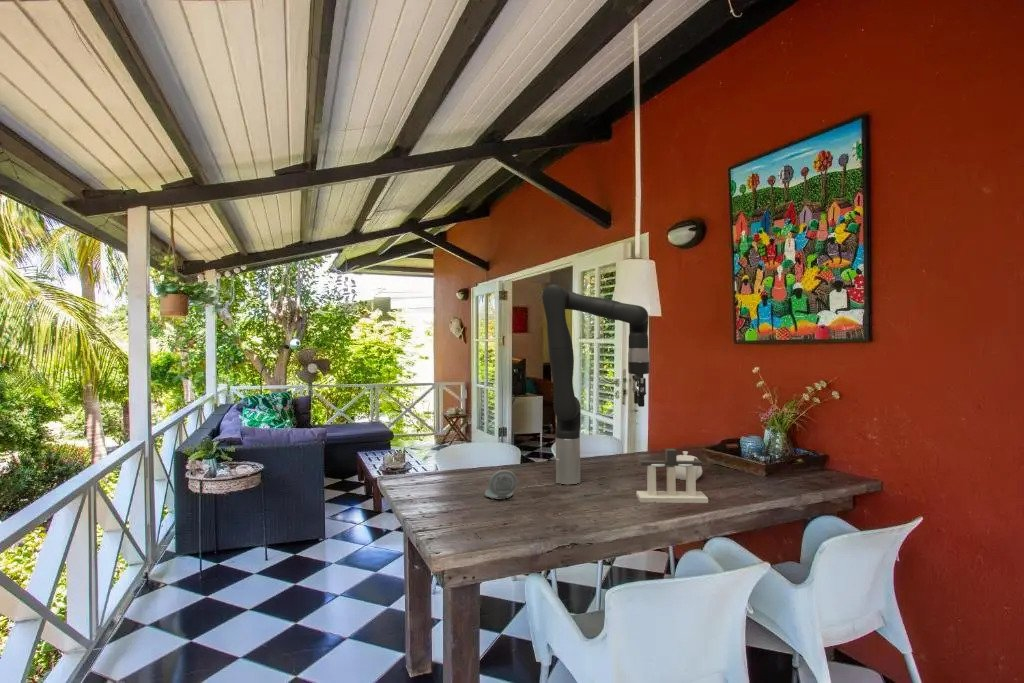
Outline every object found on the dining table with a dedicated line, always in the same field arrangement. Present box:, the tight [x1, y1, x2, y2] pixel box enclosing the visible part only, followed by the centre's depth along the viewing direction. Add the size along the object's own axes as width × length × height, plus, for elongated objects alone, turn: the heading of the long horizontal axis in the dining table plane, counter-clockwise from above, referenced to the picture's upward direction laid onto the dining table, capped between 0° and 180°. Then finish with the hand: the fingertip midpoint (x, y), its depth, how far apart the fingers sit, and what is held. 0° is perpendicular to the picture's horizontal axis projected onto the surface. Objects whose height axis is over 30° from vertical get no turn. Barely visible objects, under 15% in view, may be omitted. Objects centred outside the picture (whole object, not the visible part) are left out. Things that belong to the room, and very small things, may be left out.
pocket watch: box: [484, 469, 518, 498], centre depth 184 cm, size 10×11×15 cm
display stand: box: [635, 466, 709, 504], centre depth 178 cm, size 22×8×12 cm, turn 86°
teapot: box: [675, 450, 703, 481], centre depth 205 cm, size 20×12×10 cm, turn 12°
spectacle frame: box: [637, 448, 703, 468], centre depth 180 cm, size 20×9×5 cm, turn 86°
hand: (639, 405), depth 193 cm, fingers open, 8 cm apart
